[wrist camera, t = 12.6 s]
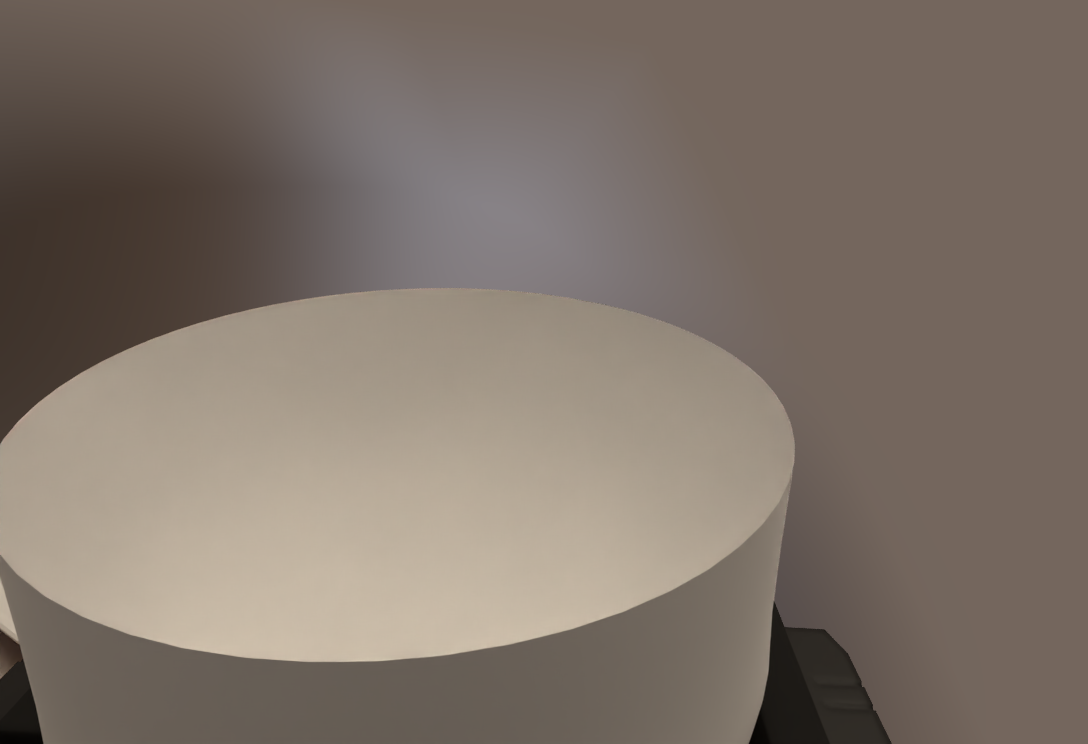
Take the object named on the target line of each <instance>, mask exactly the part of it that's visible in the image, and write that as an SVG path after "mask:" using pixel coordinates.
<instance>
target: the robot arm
mask: <svg viewBox="0 0 1088 744" xmlns="http://www.w3.org/2000/svg"><path fill="white" fill-rule="evenodd" d="M0 744H44V743H43V738H42V733H41V729H40V724H39V719H38V714H37V709H36V705H35V701H34V697H33V693H32V690H31V686H30V682H29V678H28V675H27V671H26V667H25V663H24V660H22V661H21V662H17V663H16V664H15V665H14V666H13V667H12V668H11V669H10V670H9V671H8V672H7V673H6V674H5V675H4V676H3V677H2V678H1V679H0ZM749 744H891V741H890V739H889V737H888V735H887V733H886V731H885V729H884V727H883V725H882V723H881V721H880V719H879V717H878V715H877V713H876V711H874V710H873V704H872V702H871V700H870V698H869V696H868V694H867V692H866V690H865V688H864V687H862V685H861V680H860V678H859V676H858V674H857V672H856V669H855V667H854V665H853V663H852V661H851V659H850V657H849V655H848V653H846V651H845V650H844V649H843V648H842V647H841V646H840V645H839V644H838V643H837V642H836V641H835V640H834V639H833V638H832V637H831V636H830V635H829V634H828V633H827V632H826V631H825V630H823V629H807V628H788V627H784V625H783V622H782V620H781V617H780V615H779V612H778V610H777V607H776V605H775V602H773V610H772V623H771V639H770V654H769V671H768V677H767V682H766V687H765V692H764V697H763V702H762V705H761V708H760V711H759V714H758V717H757V720H756V724H755V727H754V730H753V733H752V735H751V738H750V741H749Z"/></svg>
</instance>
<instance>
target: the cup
mask: <svg viewBox="0 0 1088 744" xmlns="http://www.w3.org/2000/svg"><path fill="white" fill-rule="evenodd" d="M794 455H795V441H794V436H793V431H792V426H791V423H790V420H789V418H788V416H787V414H786V411H785V409H784V407H783V405H782V404H781V402H780V401H779V399H778V398H777V396H776V394H775V393H774V392H773V391H772V389H771V388H770V387H769V386H768V385H767V384H766V383H765V381H764V380H763V379H762V378H761V377H760V376H758V375H757V374H756V373H755V372H754V371H753V370H752V369H751V368H749V367H748V366H747V365H745V364H744V363H743V362H742V361H740V360H739V359H737V358H736V357H735V356H733V355H732V354H730V353H728V352H727V351H725V350H724V349H722V348H720V347H719V346H717V345H715V344H713V343H711V342H709V341H707V340H705V339H703V338H701V337H700V336H697V335H695V334H693V333H691V332H688V331H686V330H684V329H682V328H679V327H676V326H674V325H671V324H668V323H666V322H663V321H660V320H657V319H654V318H651V317H648V316H645V315H642V314H638V313H634V312H631V311H627V310H624V309H620V308H616V307H612V306H607V305H603V304H599V303H593V302H588V301H583V300H578V299H572V298H566V297H560V296H552V295H544V294H537V293H527V292H517V291H504V290H490V289H462V288H461V289H460V288H432V289H431V288H426V289H425V288H424V289H397V290H382V291H369V292H358V293H348V294H340V295H331V296H323V297H316V298H311V299H303V300H297V301H291V302H286V303H280V304H275V305H270V306H265V307H260V308H256V309H252V310H247V311H243V312H239V313H234V314H230V315H226V316H223V317H219V318H215V319H212V320H208V321H205V322H201V323H198V324H195V325H192V326H189V327H185V328H182V329H179V330H176V331H173V332H171V333H168V334H165V335H163V336H160V337H157V338H154V339H152V340H149V341H147V342H144V343H142V344H139V345H137V346H135V347H132V348H130V349H128V350H125V351H123V352H121V353H119V354H117V355H115V356H113V357H111V358H108V359H106V360H104V361H103V362H101V363H99V364H97V365H95V366H93V367H91V368H89V369H88V370H86V371H84V372H82V373H81V374H79V375H77V376H76V377H74V378H73V379H71V380H69V381H68V382H66V383H65V384H63V385H62V386H60V387H59V388H57V389H56V390H54V391H53V392H52V393H51V394H49V395H48V396H47V397H45V398H44V399H43V400H41V401H40V402H39V403H38V404H36V405H35V406H34V407H33V408H32V409H31V410H30V411H29V412H28V413H27V414H26V415H25V416H24V417H22V418H21V419H20V420H19V421H18V423H17V424H16V425H15V426H14V427H13V428H12V430H11V431H10V432H9V433H8V435H7V436H6V437H5V438H4V439H3V441H2V443H1V444H0V578H1V582H2V585H3V589H4V592H5V596H6V599H7V602H8V606H9V609H10V613H11V616H12V620H13V623H14V626H15V630H16V634H17V637H18V641H19V645H20V649H21V652H22V656H23V660H24V663H25V667H26V671H27V675H28V678H29V682H30V686H31V690H32V693H33V697H34V701H35V705H36V709H37V714H38V719H39V724H40V729H41V733H42V738H43V743H44V744H749V741H750V738H751V735H752V733H753V730H754V727H755V724H756V720H757V717H758V714H759V711H760V708H761V705H762V702H763V697H764V692H765V687H766V682H767V677H768V671H769V654H770V639H771V623H772V610H773V602H774V594H775V587H776V580H777V572H778V565H779V557H780V550H781V542H782V536H783V530H784V523H785V517H786V511H787V505H788V498H789V492H790V486H791V479H792V472H793V467H794Z"/></svg>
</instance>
